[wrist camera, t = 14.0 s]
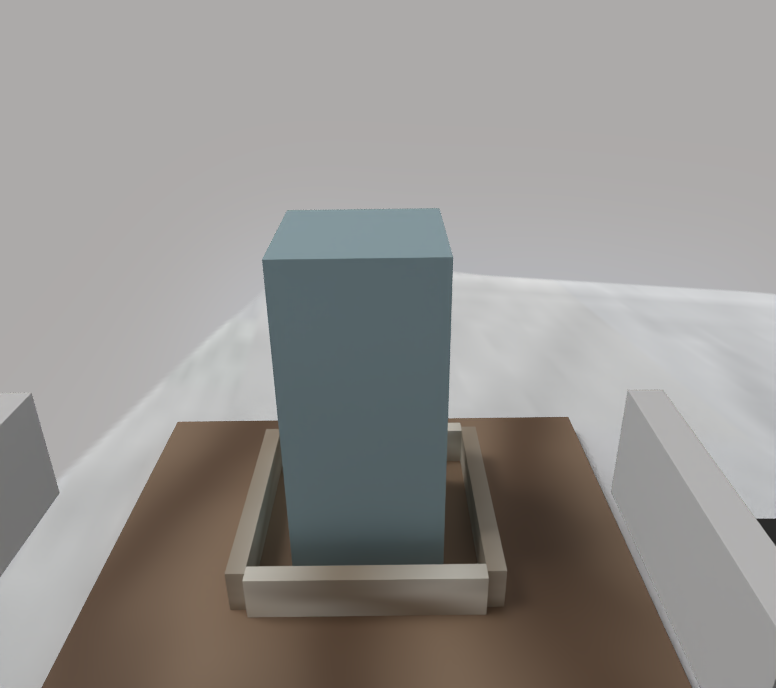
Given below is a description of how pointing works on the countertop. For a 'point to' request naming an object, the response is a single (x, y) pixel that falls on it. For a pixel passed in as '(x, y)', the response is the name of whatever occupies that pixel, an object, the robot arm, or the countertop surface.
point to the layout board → (371, 579)
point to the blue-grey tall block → (362, 382)
